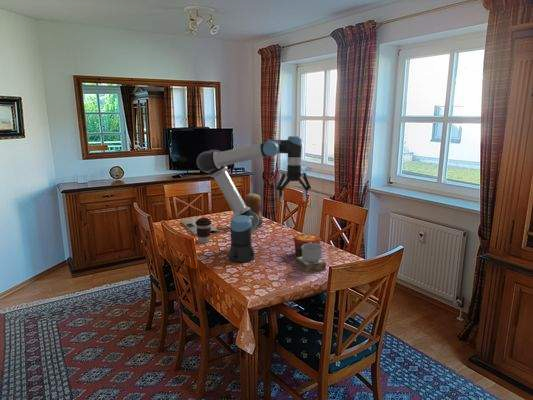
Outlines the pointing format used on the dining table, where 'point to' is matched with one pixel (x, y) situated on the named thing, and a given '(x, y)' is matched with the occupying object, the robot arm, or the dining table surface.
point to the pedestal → (310, 265)
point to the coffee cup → (203, 230)
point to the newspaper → (193, 227)
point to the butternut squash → (254, 205)
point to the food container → (304, 242)
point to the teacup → (311, 252)
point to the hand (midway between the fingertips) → (293, 201)
